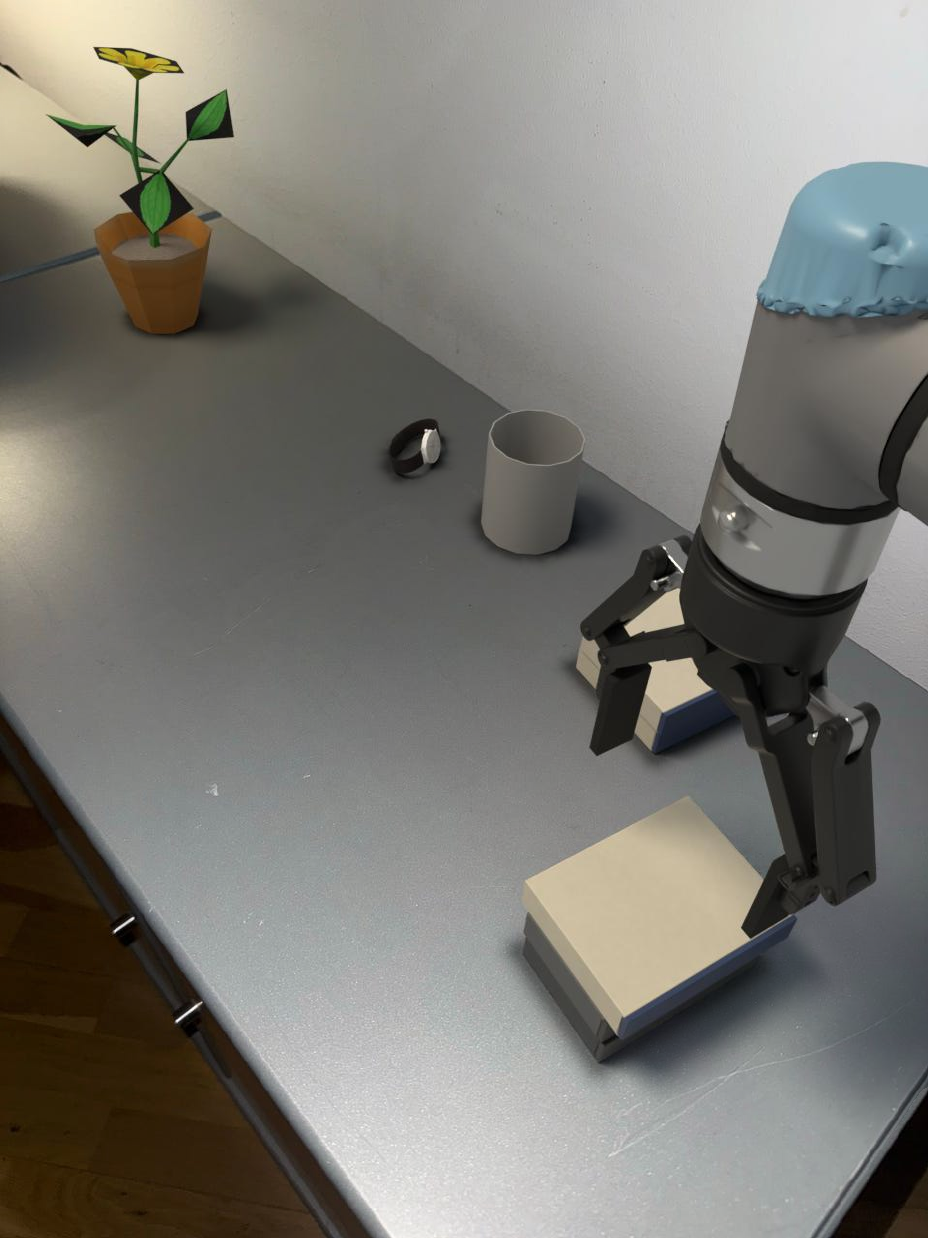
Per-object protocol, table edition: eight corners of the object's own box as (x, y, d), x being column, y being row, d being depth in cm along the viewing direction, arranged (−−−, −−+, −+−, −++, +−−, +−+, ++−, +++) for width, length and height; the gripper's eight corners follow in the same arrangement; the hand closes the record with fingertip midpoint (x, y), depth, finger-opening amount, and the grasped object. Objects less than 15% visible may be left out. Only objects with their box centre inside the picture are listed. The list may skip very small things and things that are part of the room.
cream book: (787, 938, 67) (798, 918, 66) (621, 1042, 62) (628, 1022, 60) (680, 816, 73) (688, 794, 72) (520, 901, 68) (524, 880, 66)
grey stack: (756, 964, 72) (776, 926, 68) (596, 1064, 66) (609, 1028, 63) (674, 866, 76) (688, 825, 73) (519, 952, 71) (526, 912, 68)
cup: (463, 516, 102) (470, 427, 95) (530, 486, 106) (541, 399, 99) (520, 566, 98) (532, 477, 91) (588, 533, 102) (604, 445, 95)
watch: (421, 484, 105) (422, 454, 103) (376, 471, 106) (377, 441, 104) (450, 442, 111) (452, 412, 108) (408, 430, 112) (408, 400, 109)
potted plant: (250, 356, 120) (223, 65, 99) (73, 360, 117) (6, 62, 96) (250, 277, 132) (226, 4, 111) (90, 280, 130) (34, 0, 108)
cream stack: (780, 695, 89) (797, 652, 85) (654, 757, 83) (666, 715, 80) (696, 614, 95) (709, 572, 91) (574, 668, 89) (582, 625, 86)
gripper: (547, 415, 52) (507, 702, 67) (951, 790, 38) (786, 1049, 53) (668, 377, 55) (604, 660, 70) (1086, 710, 41) (893, 976, 56)
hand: (682, 827), depth 62 cm, fingers open, 13 cm apart
